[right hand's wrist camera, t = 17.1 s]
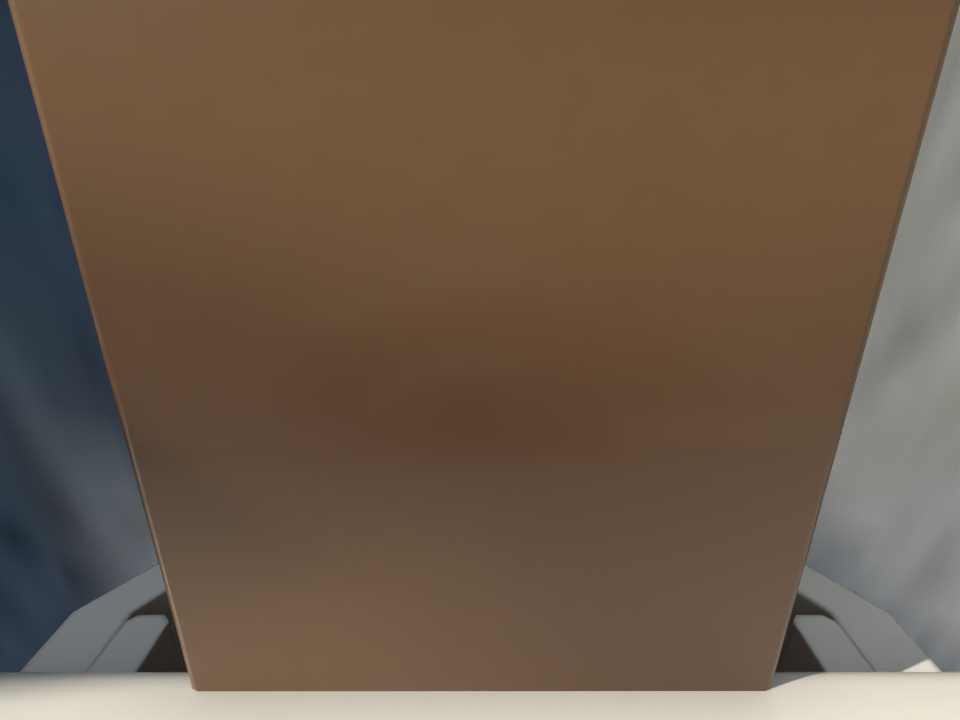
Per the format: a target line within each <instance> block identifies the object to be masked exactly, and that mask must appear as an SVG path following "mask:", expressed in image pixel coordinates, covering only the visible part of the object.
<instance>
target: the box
mask: <svg viewBox="0 0 960 720" xmlns="http://www.w3.org/2000/svg"><path fill="white" fill-rule="evenodd" d="M8 3H9V7H10V11H11V14H12V18H13V22H14V26H15V29H16V33H17V37H18V40H19V44H20V48H21V52H22V55H23V59H24V63H25V67H26V70H27V74H28V78H29V81H30V85H31V89H32V93H33V96H34V100H35V104H36V108H37V111H38V115H39V119H40V123H41V126H42V130H43V134H44V137H45V141H46V145H47V149H48V152H49V156H50V160H51V164H52V167H53V171H54V175H55V178H56V182H57V186H58V190H59V193H60V197H61V201H62V205H63V208H64V212H65V216H66V219H67V223H68V227H69V231H70V234H71V238H72V242H73V246H74V249H75V253H76V257H77V260H78V264H79V268H80V272H81V275H82V279H83V283H84V287H85V290H86V294H87V298H88V301H89V305H90V309H91V313H92V316H93V320H94V324H95V328H96V331H97V335H98V339H99V342H100V346H101V350H102V354H103V357H104V361H105V365H106V369H107V372H108V376H109V380H110V383H111V387H112V391H113V395H114V398H115V402H116V406H117V410H118V413H119V417H120V421H121V424H122V428H123V432H124V436H125V439H126V443H127V447H128V451H129V454H130V458H131V462H132V465H133V469H134V473H135V477H136V480H137V484H138V488H139V492H140V495H141V499H142V503H143V506H144V510H145V514H146V518H147V521H148V525H149V529H150V533H151V536H152V540H153V544H154V547H155V551H156V555H157V559H158V562H159V566H160V570H161V574H162V577H163V581H164V585H165V588H166V592H167V596H168V600H169V603H170V607H171V611H172V615H173V618H174V622H175V626H176V630H177V633H178V637H179V641H180V644H181V648H182V652H183V656H184V659H185V663H186V667H187V671H188V674H189V678H190V682H191V685H192V689H193V690H196V691H767V690H769V689H771V685H772V682H773V678H774V675H775V671H776V667H777V664H778V660H779V656H780V653H781V649H782V646H783V642H784V638H785V635H786V631H787V627H788V624H789V620H790V617H791V613H792V609H793V606H794V602H795V598H796V595H797V591H798V588H799V584H800V580H801V577H802V573H803V569H804V566H805V562H806V559H807V555H808V551H809V548H810V544H811V540H812V537H813V533H814V530H815V526H816V522H817V519H818V515H819V512H820V508H821V504H822V501H823V497H824V493H825V490H826V486H827V483H828V479H829V475H830V472H831V468H832V464H833V461H834V457H835V454H836V450H837V446H838V443H839V439H840V435H841V432H842V428H843V425H844V421H845V417H846V414H847V410H848V406H849V403H850V399H851V396H852V392H853V388H854V385H855V381H856V377H857V374H858V370H859V367H860V363H861V359H862V356H863V352H864V349H865V345H866V341H867V338H868V334H869V330H870V327H871V323H872V320H873V316H874V312H875V309H876V305H877V301H878V298H879V294H880V291H881V287H882V283H883V280H884V276H885V272H886V269H887V265H888V262H889V258H890V254H891V251H892V247H893V243H894V240H895V236H896V233H897V229H898V225H899V222H900V218H901V215H902V211H903V207H904V204H905V200H906V196H907V193H908V189H909V186H910V182H911V178H912V175H913V171H914V167H915V164H916V160H917V157H918V153H919V149H920V146H921V142H922V138H923V135H924V131H925V128H926V124H927V120H928V117H929V113H930V109H931V106H932V102H933V99H934V95H935V91H936V88H937V84H938V80H939V77H940V73H941V70H942V66H943V62H944V59H945V55H946V52H947V48H948V44H949V41H950V37H951V33H952V30H953V26H954V23H955V19H956V15H957V12H958V8H959V4H960V0H8Z"/></svg>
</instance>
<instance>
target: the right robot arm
mask: <svg viewBox="0 0 960 720" xmlns="http://www.w3.org/2000/svg"><path fill="white" fill-rule="evenodd" d="M0 720H960V672H942V671H941V670H940V669H939V668H938V667H937V666H936V664H935V663H934V662H933V661H932V660H931V659H930V658H929V657H928V655H927V654H926V653H925V652H924V651H923V650H922V649H921V648H920V646H919V645H918V644H917V643H916V642H915V641H914V640H913V638H912V637H911V636H910V635H909V634H908V633H907V632H906V631H905V629H904V628H903V627H902V626H901V625H900V624H899V623H898V622H897V620H896V619H895V618H894V617H893V616H892V615H891V614H890V613H889V612H887V611H885V610H883V609H882V608H880V607H878V606H876V605H875V604H873V603H871V602H869V601H868V600H866V599H864V598H862V597H861V596H859V595H857V594H855V593H854V592H852V591H850V590H848V589H847V588H845V587H843V586H841V585H840V584H838V583H836V582H834V581H833V580H831V579H829V578H827V577H826V576H824V575H822V574H820V573H819V572H817V571H815V570H813V569H812V568H810V567H808V566H806V565H805V566H804V569H803V573H802V577H801V580H800V584H799V588H798V591H797V595H796V598H795V602H794V606H793V609H792V613H791V617H790V620H789V624H788V627H787V631H786V635H785V638H784V642H783V646H782V649H781V653H780V656H779V660H778V664H777V667H776V671H775V675H774V678H773V682H772V685H771V689H769V690H767V691H196V690H193V689H192V685H191V682H190V678H189V674H188V671H187V667H186V663H185V659H184V656H183V652H182V648H181V644H180V641H179V637H178V633H177V630H176V626H175V622H174V618H173V615H172V611H171V607H170V603H169V600H168V596H167V592H166V588H165V585H164V581H163V577H162V574H161V570H160V566H159V563H158V564H157V565H155V566H153V567H151V568H150V569H148V570H146V571H144V572H143V573H141V574H139V575H137V576H136V577H134V578H132V579H130V580H129V581H127V582H125V583H123V584H122V585H120V586H118V587H116V588H115V589H113V590H111V591H109V592H108V593H106V594H104V595H102V596H101V597H99V598H97V599H95V600H94V601H92V602H90V603H88V604H87V605H85V606H83V607H81V608H80V609H78V610H76V611H74V612H73V613H72V614H71V615H70V616H69V617H68V618H67V619H66V620H65V621H64V623H63V624H62V625H61V626H60V627H59V628H58V629H57V630H56V632H55V633H54V634H53V635H52V636H51V637H50V638H49V639H48V641H47V642H46V643H45V644H44V645H43V646H42V647H41V648H40V650H39V651H38V652H37V653H36V654H35V655H34V656H33V657H32V659H31V660H30V661H29V662H28V663H27V664H26V665H25V666H24V668H23V669H22V670H21V671H20V672H0Z"/></svg>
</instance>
